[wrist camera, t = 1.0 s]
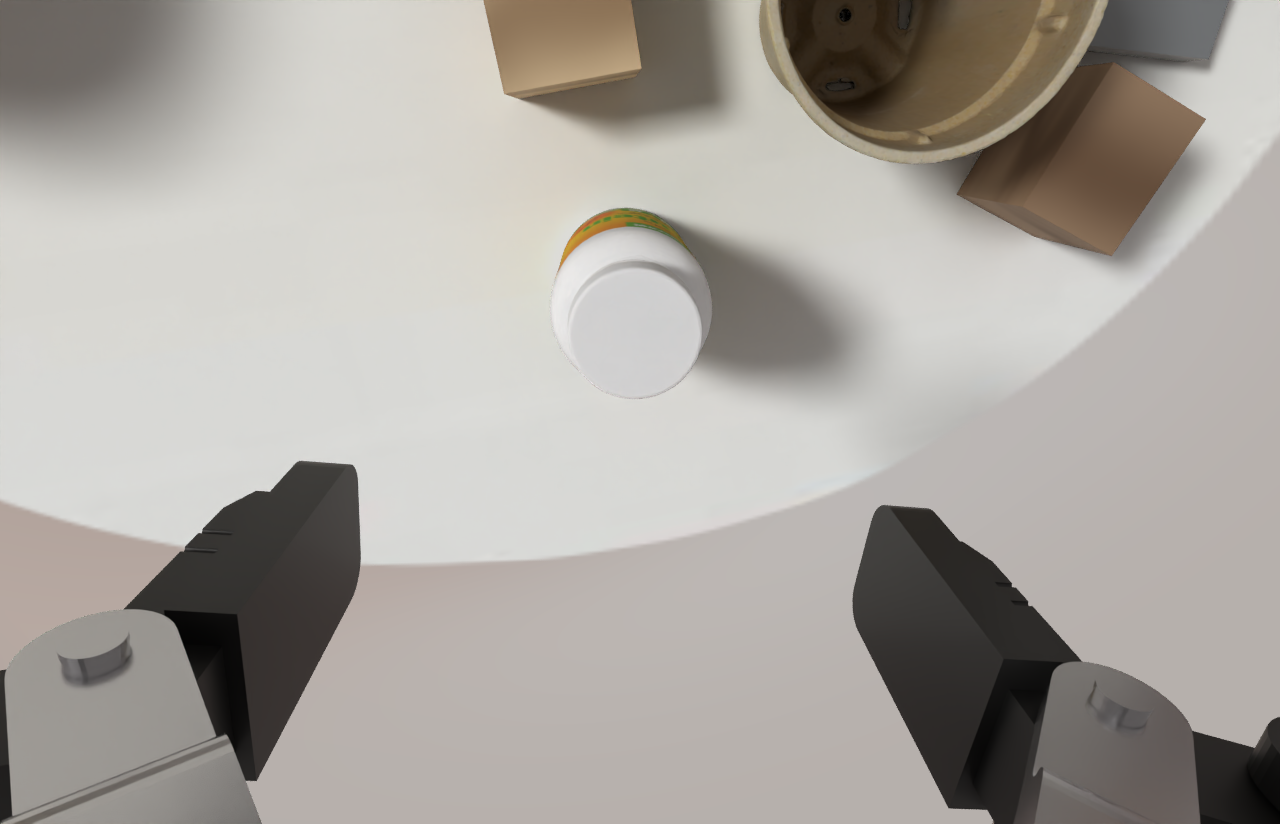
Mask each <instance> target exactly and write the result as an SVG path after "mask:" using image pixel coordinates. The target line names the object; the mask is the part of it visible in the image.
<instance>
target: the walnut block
mask: <svg viewBox="0 0 1280 824" xmlns="http://www.w3.org/2000/svg"><path fill="white" fill-rule="evenodd" d="M1205 120H1206V119H1205V118H1203V117H1201V116H1200V115H1198V114H1197V113H1195V112H1193V111H1192V110H1190V109H1189V108H1187V107H1185V106H1184V105H1182V104H1181V103H1179V102H1177V101H1176V100H1174V99H1173V98H1171V97H1169V96H1168V95H1166V94H1164V93H1163V92H1161V91H1160V90H1158V89H1156V88H1155V87H1153V86H1152V85H1150V84H1148V83H1147V82H1145V81H1144V80H1142V79H1140V78H1139V77H1137V76H1135V75H1134V74H1132V73H1131V72H1129V71H1127V70H1126V69H1124V68H1123V67H1121V66H1119V65H1118V64H1116V63H1115V62H1111V63H1104V64H1096V65H1088V66H1080V67H1076V68H1075V70H1074V72H1073V73H1072V74H1071V75H1070V77H1069V78H1068V79H1067V81H1066V82H1065V83H1064V85H1063V86H1062V87H1061V88H1060V90H1059V91H1058V92H1057V94H1056V95H1055V96H1054V97H1053V98H1052V99H1051V100H1050V101H1049V102H1048V103H1047V104H1046V105H1045V106H1044V107H1043V108H1042V109H1041V110H1039V111H1038V112H1037V113H1036V114H1035V115H1034V117H1032V118H1031V119H1029V120H1028V121H1027V122H1026V123H1025V124H1023V125H1022V126H1021V127H1019V128H1018V129H1017V130H1016V131H1013V132H1012V133H1011V134H1008V135H1007V136H1006V137H1005V138H1003V139H1001V140H1000V141H998V142H996V143H994V144H992V145H990V146H989V147H987V148H984V150H983V151H982V153H981V155H980V156H979V158H978V160H977V161H976V163H975V165H974V166H973V168H972V170H971V171H970V173H969V175H968V176H967V178H966V180H965V181H964V183H963V185H962V186H961V188H960V190H959V191H958V193H957V195H959V196H960V197H962V198H964V199H966V200H968V201H970V202H971V203H973V204H975V205H977V206H979V207H981V208H983V209H984V210H986V211H988V212H990V213H992V214H994V215H995V216H997V217H999V218H1001V219H1003V220H1005V221H1006V222H1008V223H1010V224H1012V225H1014V226H1016V227H1018V228H1019V229H1021V230H1023V231H1025V232H1027V233H1029V234H1030V235H1032V236H1034V237H1038V238H1042V239H1046V240H1050V241H1054V242H1058V243H1062V244H1066V245H1070V246H1074V247H1078V248H1082V249H1086V250H1090V251H1094V252H1098V253H1102V254H1106V255H1110V256H1112V255H1113V253H1114V252H1115V250H1116V249H1117V247H1118V246H1119V244H1120V243H1121V242H1122V240H1123V239H1124V237H1125V236H1126V234H1127V233H1128V231H1129V230H1130V228H1131V227H1132V226H1133V224H1134V223H1135V221H1136V220H1137V218H1138V217H1139V215H1140V214H1141V213H1142V211H1143V210H1144V208H1145V207H1146V205H1147V204H1148V202H1149V201H1150V200H1151V198H1152V197H1153V195H1154V194H1155V192H1156V191H1157V189H1158V188H1159V187H1160V185H1161V184H1162V182H1163V181H1164V179H1165V178H1166V176H1167V175H1168V173H1169V172H1170V171H1171V169H1172V168H1173V166H1174V165H1175V163H1176V162H1177V160H1178V159H1179V158H1180V156H1181V155H1182V153H1183V152H1184V150H1185V149H1186V147H1187V146H1188V145H1189V143H1190V142H1191V140H1192V139H1193V137H1194V136H1195V134H1196V133H1197V132H1198V130H1199V129H1200V127H1201V126H1202V124H1203V123H1204V121H1205Z"/></svg>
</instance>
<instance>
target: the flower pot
mask: <svg viewBox="0 0 1280 824" xmlns="http://www.w3.org/2000/svg"><path fill="white" fill-rule="evenodd" d="M1107 5H1108V0H912V7H911V11H910V15H909V24H908V26H907V28H906V29H900V28H899V27H898V12H899V0H761V6H760V15H759V27H760V37H761V42H762V46H763V50H764V53H765V57H766V60H767V62H768V64H769V66H770V68H771V70H772V71H773V73H774V74H775V76H776V77H777V78H778V80H779V81H780V82H781V84H782V85H783V86H784V87H785V88H786V89H787V90H788V91H789V92H790V93H791V94H793V95H794V97H795V98H796V100H797V102H798V103H799V104H800V106H801V107H802V108H803V110H804V111H805V112H806V113H807V115H808V116H809V117H810V118H811V119H812V120H813V122H814V123H816V124H817V125H818V126H819V127H820V128H821V129H823V130H824V131H825V132H826V133H827V134H828V135H830V136H831V137H833V138H834V139H836V140H837V141H839V142H841V143H842V144H844V145H845V146H847V147H849V148H851V149H853V150H855V151H857V152H860V153H862V154H865V155H868V156H871V157H874V158H877V159H880V160H885V161H889V162H896V163H906V164H923V163H937V162H942V161H945V160H952V159H955V158H958V157H962V156H966V155H969V154H971V153H974V152H976V151H979V150H982V149H984V148H987V147H989V146H990V145H992V144H994V143H996V142H998V141H1000V140H1001V139H1003V138H1005V137H1006V136H1007V135H1008V134H1011V133H1012V132H1013V131H1016V130H1017V129H1018V128H1019V127H1021V126H1022V125H1023V124H1025V123H1026V122H1027V121H1028V120H1029V119H1031V118H1032V117H1034V115H1035V114H1036V113H1037V112H1038V111H1039V110H1041V109H1042V108H1043V107H1044V106H1045V105H1046V104H1047V103H1048V102H1049V101H1050V100H1051V99H1052V98H1053V97H1054V96H1055V95H1056V94H1057V92H1058V91H1059V90H1060V88H1061V87H1062V86H1063V85H1064V83H1065V82H1066V81H1067V79H1068V78H1069V77H1070V75H1071V74H1072V73H1073V72H1074V70H1075V68H1076V67H1077V65H1078V64H1079V62H1080V61H1081V59H1082V57H1083V56H1084V54H1085V52H1086V51H1087V49H1088V47H1089V45H1090V43H1091V42H1092V40H1093V38H1094V36H1095V34H1096V32H1097V30H1098V28H1099V26H1100V23H1101V20H1102V18H1103V16H1104V11H1105V9H1106V7H1107ZM843 9H848V10H849V11H850V12H851V17H850V19H849V20H848V21H846V22H844V21H841V19H840V18H839V14H840V12H841V11H842V10H843ZM839 79H842V80H841V81H844V82H851V81H853V83H854V88H853V89H848V90H839V91H831V90H829V89H828V88H827V87H826V84H827V83H836V82H838V81H839Z"/></svg>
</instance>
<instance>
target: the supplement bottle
mask: <svg viewBox="0 0 1280 824" xmlns="http://www.w3.org/2000/svg"><path fill="white" fill-rule="evenodd" d="M550 319H551V325H552V329H553V333H554V336H555V338H556V340H557V343H558V345H559V347H560V349H561V350H562V352H563V353H564V355H565V356H566V358H567V359H568V360H569V362H570V363H571V364H572V365H573V366H574V367H575V368H576V369H577V370H579V371H580V372H581V373H582V374H583V376H584V377H585V378H586V379H587V380H588V381H589V382H590V383H592V384H593V385H594V386H595V387H597V388H598V389H600V390H602V391H604V392H606V393H608V394H611V395H614V396H617V397H622V398H629V399H642V398H648V397H653V396H656V395H659V394H661V393H663V392H666V391H667V390H669V389H671V388H673V387H674V386H675V385H677V384H678V383H679V382H681V381H682V380H683V379H684V378H685V377H686V375H687V374H688V373H689V372H690V370H691V369H692V367H693V366H694V364H695V362H696V360H697V358H698V355H699V353H700V350H701V349H702V347H703V346H704V343H705V341H706V338H707V336H708V333H709V329H710V325H711V320H712V299H711V293H710V288H709V285H708V282H707V280H706V277H705V275H704V272H703V270H702V268H701V266H700V265H699V263H698V262H697V260H696V259H695V257H694V256H693V255H692V253H691V252H690V251H689V249H688V248H687V246H686V245H685V244H684V242H683V240H682V239H681V237H680V236H679V235H678V234H677V232H676V231H675V230H674V229H673V228H672V227H671V226H670V225H669V224H668V223H667V222H665V221H664V220H662V219H661V218H659V217H658V216H656V215H654V214H652V213H650V212H647V211H644V210H640V209H634V208H615V209H610V210H606V211H603V212H601V213H599V214H596V215H594V216H593V217H591V218H590V219H588V220H587V221H585V222H584V223H583V224H582V225H581V226H580V227H579V228H578V229H577V230H576V231H575V232H574V234H573V235H572V236H571V238H570V240H569V241H568V243H567V245H566V247H565V250H564V252H563V256H562V259H561V262H560V266H559V269H558V272H557V275H556V278H555V281H554V284H553V288H552V292H551V299H550Z"/></svg>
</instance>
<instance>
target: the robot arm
mask: <svg viewBox="0 0 1280 824" xmlns="http://www.w3.org/2000/svg"><path fill="white" fill-rule="evenodd" d="M360 560H361V551H360V525H359V498H358V478H357V473H356V469H355V467H354V466H353V465H350V464H336V463H323V462H309V461H299V462H297V463H296V464H295V465H294V466H293V467H292V468H291V469H290V470H289V471H288V472H287V474H286V475H285V476H284V477H283V478H282V479H281V480H280V481H279V482H278V484H277V485H276V486H275V487H274V488H273V489H272V490H271V491H270V492H264V491H255V492H253V493H251V494H249V495H247V496H245V497H243V498H242V499H240V500H238V501H236V502H234V503H232V504H230V505H228V506H226V507H224V508H223V509H222V510H221V511H220V512H219V513H218V514H217V515H216V516H215V517H214V518H213V519H212V520H211V521H210V522H209V523H208V524H207V525H206V526H205V527H204V528H203V531H202V533H198V534H197V535H196V536H195V537H194V538H193V539H192V540H191V541H190V542H189V543H188V544H187V545H186V546H185V551H184V552H179V554H178V555H177V556H176V557H175V558H174V559H173V560H172V561H171V562H170V563H169V564H168V565H167V566H166V567H165V568H164V569H163V570H162V571H161V572H160V573H159V574H158V575H157V576H156V577H155V578H154V579H153V580H152V581H151V582H150V583H149V584H148V585H147V586H146V587H145V588H144V589H143V590H142V591H141V592H140V593H139V594H138V595H137V596H136V597H135V599H133V600H132V602H130V604H128V605H127V607H125V608H124V609H123V610H113V611H107V612H101V613H97V614H92V615H88V616H85V617H81V618H78V619H75V620H72V621H70V622H67V623H65V624H63V625H60V626H58V627H56V628H54V629H52V630H50V631H48V632H46V633H44V634H42V635H41V636H39V637H38V638H36V639H35V640H33V641H32V642H30V643H29V644H28V645H26V646H25V647H24V648H23V649H22V650H21V651H20V652H19V653H18V654H17V655H16V656H15V657H14V658H13V660H12V661H11V662H10V664H9V666H8V668H7V669H6V670H1V671H0V824H262V823H261V820H260V818H259V815H258V812H257V810H256V807H255V804H254V802H253V799H252V796H251V794H250V791H249V789H248V786H247V783H246V781H257V779H258V777H259V775H260V773H261V771H262V769H263V767H264V766H265V764H266V762H267V760H268V758H269V756H270V754H271V752H272V750H273V748H274V747H275V745H276V743H277V741H278V739H279V737H280V735H281V733H282V731H283V729H284V727H285V725H286V724H287V721H288V719H289V718H290V716H291V714H292V712H293V710H294V708H295V706H296V704H297V703H298V701H299V699H300V697H301V695H302V693H303V691H304V689H305V687H306V685H307V683H308V682H309V680H310V678H311V676H312V674H313V672H314V670H315V668H316V666H317V664H318V662H319V661H320V659H321V657H322V655H323V652H324V651H325V649H326V647H327V645H328V643H329V641H330V640H331V638H332V636H333V634H334V632H335V630H336V628H337V626H338V624H339V622H340V620H341V619H342V617H343V615H344V613H345V611H346V609H347V607H348V605H349V603H350V601H351V599H352V597H353V595H354V592H355V589H356V586H357V582H358V577H359V571H360ZM853 615H854V620H855V624H856V627H857V629H858V631H859V633H860V635H861V637H862V639H863V641H864V643H865V645H866V647H867V649H868V651H869V653H870V655H871V657H872V659H873V661H874V662H875V665H876V667H877V669H878V671H879V673H880V674H881V676H882V678H883V680H884V682H885V684H886V686H887V688H888V690H889V692H890V694H891V696H892V698H893V700H894V702H895V704H896V706H897V708H898V710H899V712H900V714H901V716H902V718H903V720H904V721H905V723H906V726H907V727H908V729H909V731H910V733H911V735H912V737H913V739H914V741H915V743H916V745H917V747H918V749H919V751H920V753H921V755H922V757H923V759H924V761H925V763H926V764H927V767H928V769H929V770H930V772H931V774H932V776H933V778H934V780H935V782H936V784H937V786H938V788H939V790H940V792H941V794H942V796H943V798H944V800H945V802H946V804H947V806H948V808H953V809H982V810H988V812H989V813H990V815H991V817H992V819H993V823H992V824H1280V717H1278V718H1276V719H1273V720H1272V721H1271V722H1270V723H1269V724H1268V726H1267V727H1266V729H1265V731H1264V733H1263V735H1262V736H1261V738H1260V740H1259V742H1258V744H1257V745H1256V747H1255V748H1253V747H1249V746H1246V745H1242V744H1238V743H1234V742H1231V741H1227V740H1224V739H1220V738H1216V737H1212V736H1208V735H1205V734H1202V733H1198V732H1194V731H1192V729H1191V727H1190V725H1189V723H1188V721H1187V719H1186V718H1185V717H1184V715H1183V714H1182V713H1181V712H1180V711H1179V710H1178V709H1177V707H1176V706H1175V705H1173V704H1172V703H1171V702H1170V701H1169V700H1168V699H1167V698H1166V697H1164V696H1163V695H1162V694H1160V693H1159V692H1158V691H1156V690H1155V689H1153V688H1152V687H1150V686H1148V685H1147V684H1145V683H1144V682H1142V681H1140V680H1138V679H1136V678H1134V677H1132V676H1130V675H1128V674H1126V673H1123V672H1121V671H1118V670H1116V669H1113V668H1110V667H1107V666H1103V665H1099V664H1094V663H1089V662H1082V661H1081V660H1080V659H1079V657H1078V656H1077V655H1076V654H1075V653H1074V652H1073V651H1072V650H1071V649H1070V647H1069V646H1068V645H1067V644H1066V643H1065V642H1064V641H1063V640H1062V639H1061V637H1060V636H1059V635H1058V634H1057V633H1056V632H1055V631H1054V630H1053V628H1052V627H1051V626H1050V625H1049V624H1048V623H1047V622H1046V621H1045V620H1044V619H1043V618H1042V616H1041V615H1040V614H1039V613H1038V612H1037V611H1036V610H1035V609H1034V608H1033V607H1032V606H1028V601H1027V600H1026V598H1025V597H1024V596H1023V595H1022V594H1021V593H1020V592H1019V591H1018V590H1017V588H1014V587H1012V583H1011V582H1010V581H1009V580H1008V578H1007V577H1006V576H1005V575H1004V574H1003V573H1002V572H1001V571H1000V570H999V568H998V567H997V566H996V565H995V564H994V563H993V562H992V561H991V560H989V559H988V558H986V557H985V556H983V555H982V554H980V553H979V552H977V551H976V550H974V549H973V548H971V547H970V546H968V545H967V544H965V543H964V542H960V541H959V540H958V539H957V538H956V537H955V536H954V534H953V533H952V532H951V531H950V530H949V529H948V527H947V526H946V525H945V524H944V523H943V522H942V520H941V519H940V518H939V517H938V516H937V515H936V514H935V512H933V511H932V510H931V509H927V508H915V507H901V506H888V505H882V506H880V507H879V508H878V509H877V510H876V511H875V513H874V515H873V518H872V521H871V525H870V528H869V533H868V536H867V540H866V544H865V548H864V551H863V556H862V559H861V563H860V567H859V571H858V574H857V578H856V582H855V586H854V592H853Z"/></svg>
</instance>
